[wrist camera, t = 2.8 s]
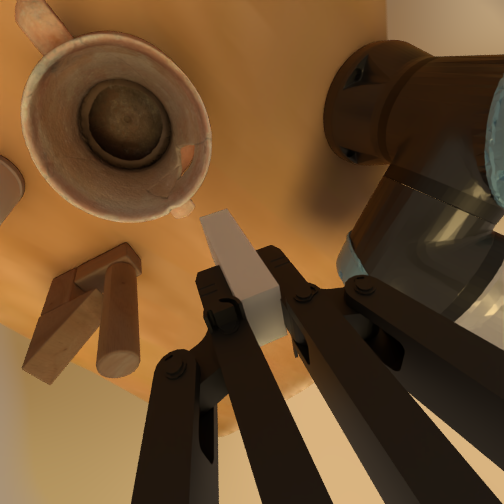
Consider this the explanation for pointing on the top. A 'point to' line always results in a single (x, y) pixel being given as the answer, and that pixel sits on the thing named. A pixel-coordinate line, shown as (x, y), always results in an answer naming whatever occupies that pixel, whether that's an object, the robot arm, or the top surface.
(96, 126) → the ceramic jug
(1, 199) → the travel mug
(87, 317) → the wooden block
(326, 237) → the top surface
